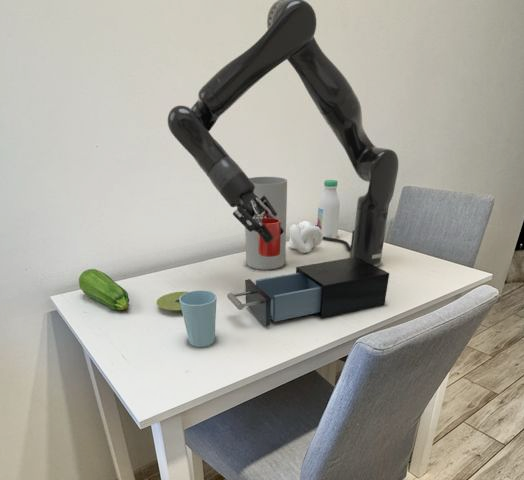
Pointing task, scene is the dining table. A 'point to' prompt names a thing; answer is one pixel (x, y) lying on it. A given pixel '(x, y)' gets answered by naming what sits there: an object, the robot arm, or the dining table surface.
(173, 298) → the mat
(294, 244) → the white knot sculpture
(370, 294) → the black drawer casing
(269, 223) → the red tumbler
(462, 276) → the dining table surface
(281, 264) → the cylinder vase
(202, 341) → the cup
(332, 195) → the milk bottle
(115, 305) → the vegetable
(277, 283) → the dish drawer
